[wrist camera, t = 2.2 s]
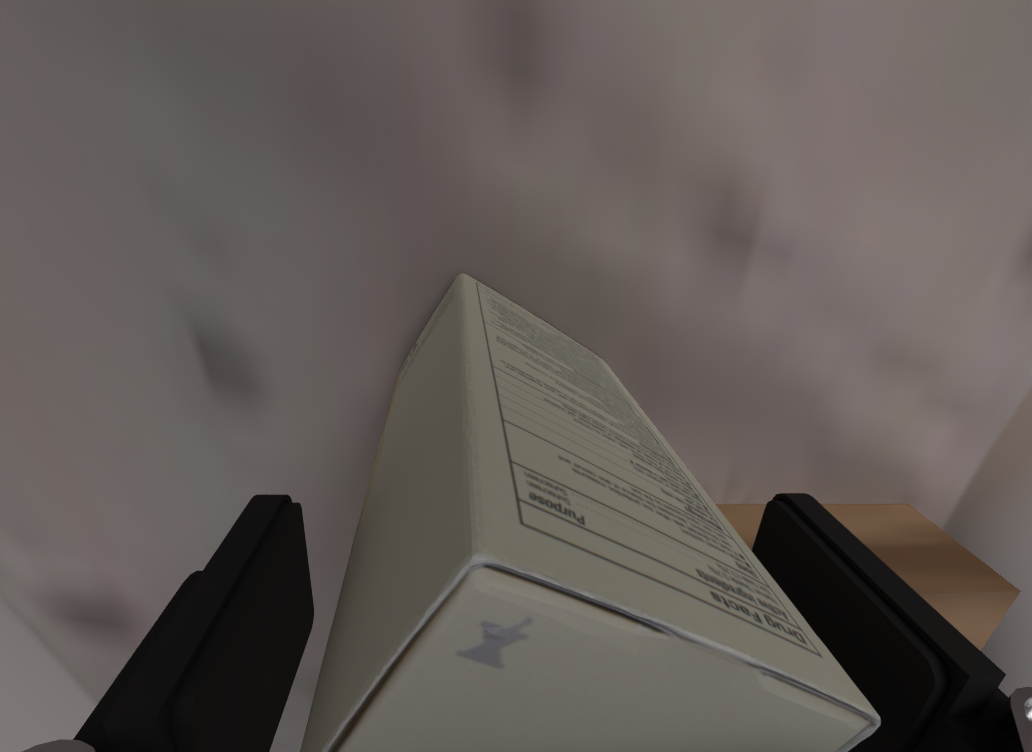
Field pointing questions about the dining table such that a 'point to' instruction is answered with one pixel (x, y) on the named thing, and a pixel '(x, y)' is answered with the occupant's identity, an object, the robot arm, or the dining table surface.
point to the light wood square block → (914, 561)
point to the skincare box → (555, 573)
